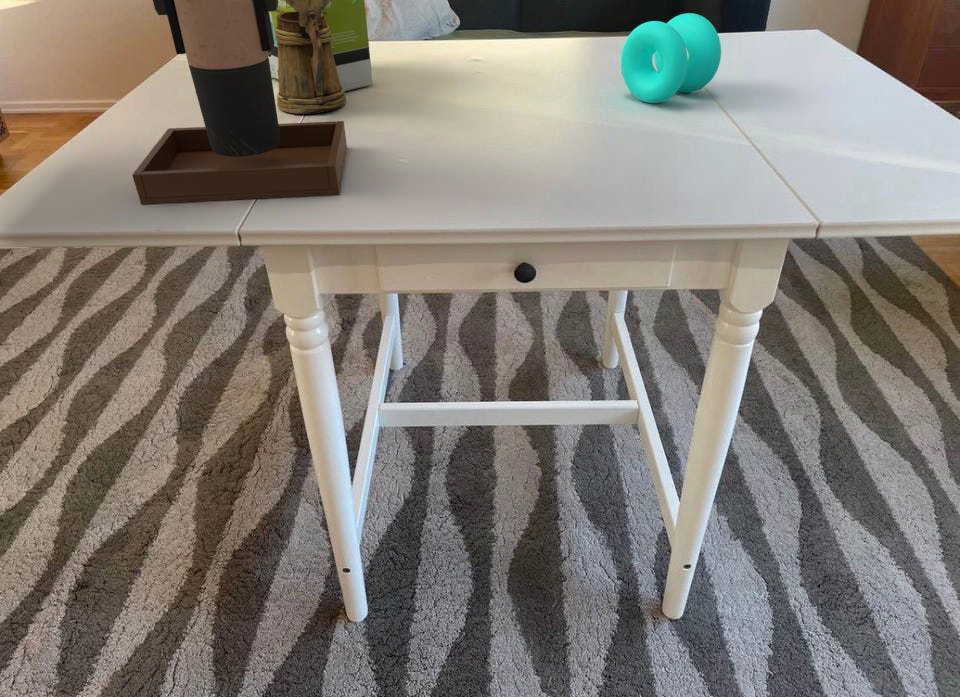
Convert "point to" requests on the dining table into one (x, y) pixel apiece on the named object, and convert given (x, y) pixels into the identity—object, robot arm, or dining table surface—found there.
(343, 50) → the tea box
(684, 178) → the dining table surface
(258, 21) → the robot arm
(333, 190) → the serving tray
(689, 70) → the donuts
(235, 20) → the travel mug
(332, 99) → the wooden mug
